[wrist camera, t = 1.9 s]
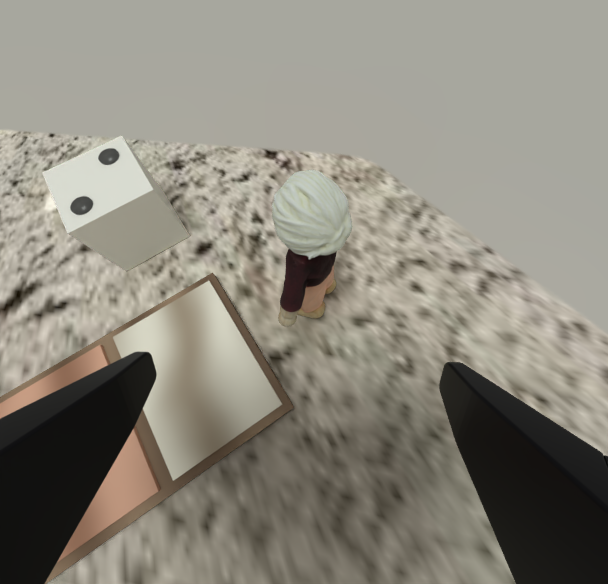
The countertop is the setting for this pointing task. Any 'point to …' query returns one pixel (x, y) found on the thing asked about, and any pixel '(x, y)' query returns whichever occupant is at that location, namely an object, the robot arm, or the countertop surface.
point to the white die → (114, 205)
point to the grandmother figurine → (309, 241)
